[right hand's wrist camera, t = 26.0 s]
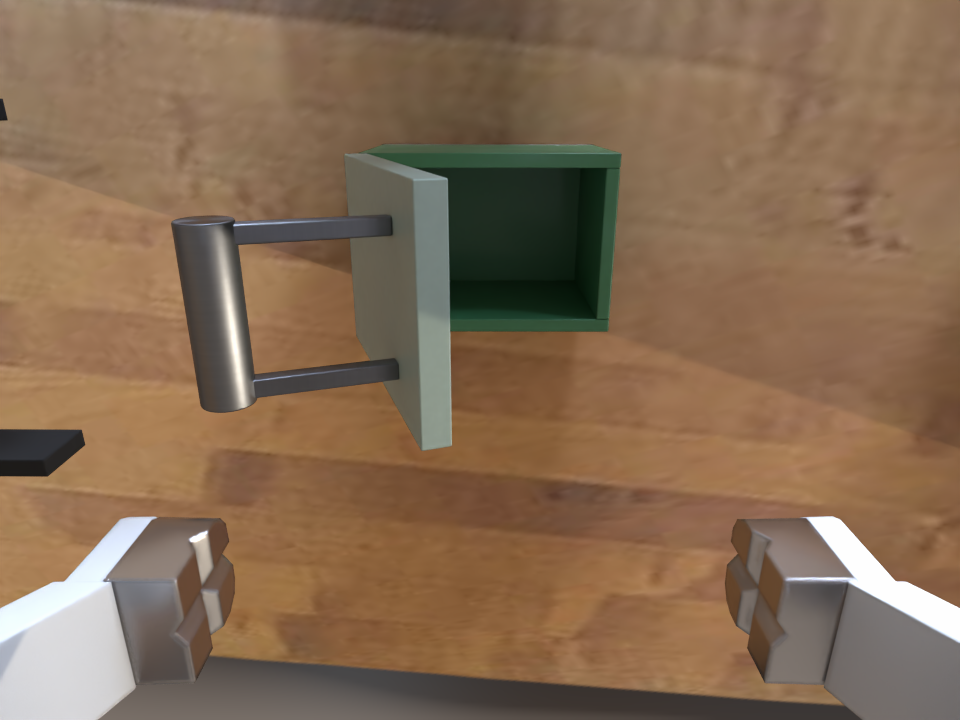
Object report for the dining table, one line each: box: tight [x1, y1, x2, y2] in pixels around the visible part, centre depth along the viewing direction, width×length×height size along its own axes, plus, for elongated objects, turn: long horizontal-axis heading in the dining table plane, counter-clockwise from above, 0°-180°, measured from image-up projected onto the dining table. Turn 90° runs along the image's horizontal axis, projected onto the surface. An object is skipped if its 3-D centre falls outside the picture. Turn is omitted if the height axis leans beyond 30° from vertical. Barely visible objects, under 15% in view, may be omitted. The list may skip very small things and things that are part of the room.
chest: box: [358, 144, 621, 332], centre depth 39 cm, size 13×10×10 cm
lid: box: [171, 153, 452, 451], centre depth 27 cm, size 14×9×8 cm
